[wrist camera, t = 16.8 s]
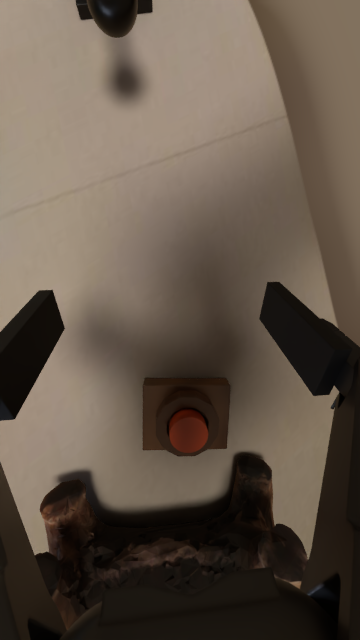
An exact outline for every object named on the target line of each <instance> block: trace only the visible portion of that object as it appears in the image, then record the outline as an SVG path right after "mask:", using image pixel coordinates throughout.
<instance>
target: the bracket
mask: <svg viewBox="0 0 360 640" xmlns="http://www.w3.org/2000/svg"><path fill="white" fill-rule="evenodd" d="M76 5H77V8H78V11H79V15H80V18H81V19H88V18H93V17H92V15H91V13H90V11H89V8H88V4H87V0H76ZM144 12H152V0H138V9H137V13H144Z"/></svg>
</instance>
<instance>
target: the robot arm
mask: <svg viewBox="0 0 360 640" xmlns="http://www.w3.org/2000/svg"><path fill="white" fill-rule="evenodd" d="M259 319H260V321H261V322H262V323H263V325H264V326H265V328H266V329H267V330H268V332H269V333H270V335H271V336H272V338H273V339H274V340H275V342H276V343H277V345H278V346H279V348H280V349H281V350H282V352H283V353H284V355H285V356H286V357H287V359H288V360H289V362H290V363H291V365H292V366H293V367H294V369H295V370H296V372H297V373H298V375H299V376H300V377H301V379H302V380H303V382H304V383H305V384H306V386H307V387H308V389H309V390H310V392H311V393H312V394H313V396H318V395H329V394H330V392H331V390H332V388H333V386H335V387H336V388H337V389H338V391H339V394H338V396H337V397H336V399H335V401H334V403H333V405H332V406H331V409H334V407H335V409H334V415H333V422H332V428H331V434H330V440H329V446H328V452H327V458H326V464H325V470H324V476H323V482H322V488H321V494H320V500H319V507H318V513H317V519H316V525H315V531H314V537H313V543H312V549H311V553H310V557H309V560H308V562H307V565H306V567H305V570H304V573H303V577H302V581H301V586H300V589H299V588H297V587H296V586H294V585H292V584H291V583H289V582H286V581H284V580H282V579H279V578H276V577H274V574H273V570H272V567H265V568H257V569H250V570H243V571H236V572H231V573H230V574H228V575H226V576H224V577H223V578H221V579H219V580H217V581H216V582H214V583H212V584H211V585H209V586H207V587H205V588H204V589H202V590H200V591H198V592H197V593H195V594H192V595H188V594H184V593H180V592H176V591H172V590H168V589H164V588H160V587H156V586H152V585H149V584H143V585H136V586H129V587H121V588H114V589H107V590H104V591H103V599H102V601H101V602H100V603H98V604H96V605H95V606H93V607H92V608H91V609H89V610H88V611H86V612H85V613H84V614H83V615H82V616H81V617H80V618H79V619H77V620H76V621H75V622H74V623H73V624H72V625H71V627H70V628H69V629H68V630H67V629H66V627H65V624H64V622H63V619H62V617H61V614H60V612H59V610H58V608H57V606H56V604H55V602H54V601H53V599H52V597H51V596H50V594H49V592H48V590H47V588H46V585H45V583H44V580H43V577H42V574H41V572H40V569H39V566H38V563H37V561H36V558H35V555H34V553H33V550H32V547H31V544H30V542H29V539H28V536H27V533H26V531H25V528H24V525H23V523H22V520H21V517H20V514H19V512H18V509H17V506H16V504H15V501H14V498H13V495H12V493H11V490H10V487H9V484H8V482H7V479H6V476H5V474H4V471H3V468H2V465H1V463H0V640H360V347H359V346H358V345H356V344H355V343H354V342H353V341H352V340H351V339H349V338H348V337H347V336H345V334H344V333H343V332H341V331H339V329H338V328H337V327H336V326H335V325H333V324H332V323H330V322H328V321H326V320H324V319H320V318H318V317H317V316H316V315H315V314H314V313H313V312H312V311H311V310H310V309H308V308H307V307H306V306H305V305H304V304H303V303H302V302H301V301H300V300H299V299H297V298H296V297H295V296H294V295H293V294H292V293H291V292H290V291H289V290H287V289H286V288H285V287H284V286H283V285H282V284H281V283H280V282H267V287H266V291H265V296H264V300H263V305H262V309H261V314H260V318H259ZM64 329H65V328H64V325H63V321H62V318H61V315H60V312H59V309H58V306H57V303H56V299H55V296H54V293H53V290H42V291H38V292H37V293H36V294H35V295H34V296H33V297H32V299H31V300H30V301H29V302H28V303H27V304H26V305H25V306H24V307H23V308H22V309H21V310H20V311H19V313H18V314H17V315H16V316H15V317H14V318H13V319H12V320H11V321H10V322H9V323H8V324H7V325H6V326H5V328H4V329H3V330H2V331H1V332H0V421H1V420H13V419H15V418H16V416H17V414H18V412H19V411H20V409H21V407H22V405H23V403H24V402H25V400H26V398H27V396H28V394H29V392H30V391H31V389H32V387H33V385H34V383H35V382H36V380H37V378H38V376H39V374H40V373H41V371H42V369H43V367H44V365H45V363H46V362H47V360H48V358H49V356H50V354H51V353H52V351H53V349H54V347H55V345H56V343H57V342H58V340H59V338H60V336H61V334H62V333H63V331H64Z"/></svg>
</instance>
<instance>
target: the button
mask: <svg viewBox="0 0 360 640" xmlns="http://www.w3.org/2000/svg"><path fill="white" fill-rule="evenodd" d="M169 436H170V441H171V444H172V445H173V446H174V447H175V448H176V449H177V450H178V451H181V452H184V453H192V452H196V451H198V450H199V449H201V448H202V447H203V446H204V445H205V443H206V441H207V439H208V429H207V426H206V422H205V419H204V417H203V416H202V414H201V413H199V412H198V411H196V410H193V409H183V410H180V411H178V412H177V413H175V414H174V415H173V417H172V418H171V420H170V424H169Z"/></svg>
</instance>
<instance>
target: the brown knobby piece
mask: <svg viewBox="0 0 360 640" xmlns="http://www.w3.org/2000/svg"><path fill="white" fill-rule="evenodd" d="M272 504H273V489H272V470H271V468H270V467H269V466H268V465H267V464H266V463H265V462H264V461H263V460H262V459H260V458H257V457H255V456H249V455H244V456H240V458H239V459H238V461H237V474H236V477H235V483H234V489H233V494H232V499H231V503H230V506H229V508H228V509H227V511H225V512H224V513H223V514H222V515H221V516H219V517H218V518H215V519H212V518H211V519H209V520H207V521H204V520H202V521H200V522H191V523H185V524H176V525H166V526H159V527H148V528H125V527H113V526H109V525H106V524H104V523H102V522H100V521H99V519H98V518H97V517H96V515H95V512H94V511H93V509H92V507H91V505H90V504H89V502H88V501H87V499H86V487H85V484H84V483H83V482H81V481H80V480H79V479H77V480H72V481H67V482H62V483H61V484H59V485H58V486H57V487H56V488H54V489H53V490H52V491H50V492H49V493H48V494H47V495H46V496H45V497H44V499H43V501H42V503H41V506H40V512H41V514H42V517H43V519H44V522H45V527H46V533H47V539H48V545H49V552H45V553H39V554H37V555H35V558H36V561H37V563H38V566H39V569H40V572H41V574H42V577H43V580H44V583H45V585H46V588H47V590H48V592H49V594H50V596H51V597H52V599H53V601H54V602H55V604H56V606H57V608H58V610H59V612H60V614H61V617H62V619H63V622H64V624H65V627H66V629H67V630H68V629H69V628H70V627H71V625H72V624H73V623H74V622H75V621H76V620H77V619H79V618H80V617H81V616H82V615H83V614H84V613H85V612H86V611H88V610H89V609H91V608H92V607H93V606H95V605H96V604H98V603H100V602H101V601H102V599H103V591H104V590H107V589H114V588H121V587H129V586H136V585H143V584H149V585H152V586H156V587H160V588H164V589H168V590H172V591H176V592H180V593H184V594H188V595H192V594H195V593H197V592H198V591H200V590H202V589H204V588H205V587H207V586H209V585H211V584H212V583H214V582H216V581H217V580H219V579H221V578H223V577H224V576H226V575H228V574H230V573H231V572H236V571H243V570H250V569H257V568H265V567H272V570H273V574H274V577H276V578H279V579H282V580H284V581H286V582H289V583H291V584H292V585H294V586H296V587H297V588H299V589H300V586H301V581H302V577H303V573H304V570H305V567H306V565H307V562H308V559H307V554H306V551H305V549H304V546H303V544H302V542H301V540H300V539H299V537H298V536H297V535H296V534H295V533H294V531H293V530H292V529H291V528H289V527H287V526H285V525H283V524H276V525H275V526H274V520H273V512H272Z"/></svg>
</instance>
